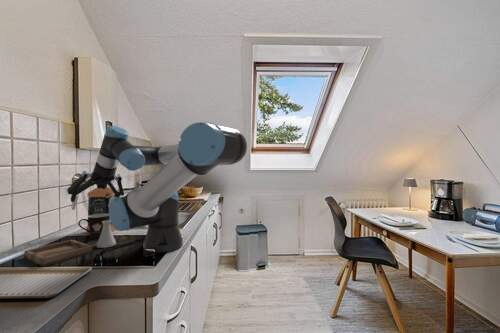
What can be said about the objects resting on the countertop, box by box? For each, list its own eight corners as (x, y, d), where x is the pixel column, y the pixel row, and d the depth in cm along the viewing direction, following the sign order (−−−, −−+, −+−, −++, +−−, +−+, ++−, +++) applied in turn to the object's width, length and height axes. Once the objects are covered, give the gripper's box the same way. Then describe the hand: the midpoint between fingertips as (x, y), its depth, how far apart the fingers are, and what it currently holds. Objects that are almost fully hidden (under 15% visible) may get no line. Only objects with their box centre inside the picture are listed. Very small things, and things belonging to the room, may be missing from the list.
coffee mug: (114, 235, 116) (114, 213, 116) (101, 240, 107) (101, 217, 107) (91, 233, 117) (91, 213, 117) (76, 239, 109) (76, 216, 109)
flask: (98, 243, 104) (98, 220, 104) (117, 241, 106) (117, 218, 106) (94, 249, 97) (94, 224, 97) (115, 247, 100) (115, 222, 99)
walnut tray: (92, 252, 93) (92, 245, 93) (43, 266, 80) (43, 259, 80) (71, 245, 101) (71, 239, 101) (24, 257, 88) (24, 250, 88)
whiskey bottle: (117, 229, 126) (117, 166, 126) (108, 234, 117) (108, 166, 116) (95, 229, 125) (95, 166, 125) (85, 235, 115) (85, 166, 115)
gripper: (135, 163, 109) (121, 202, 115) (67, 154, 91) (54, 202, 96) (141, 172, 104) (125, 212, 110) (70, 164, 86) (56, 214, 92)
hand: (92, 207), depth 103 cm, fingers open, 13 cm apart
